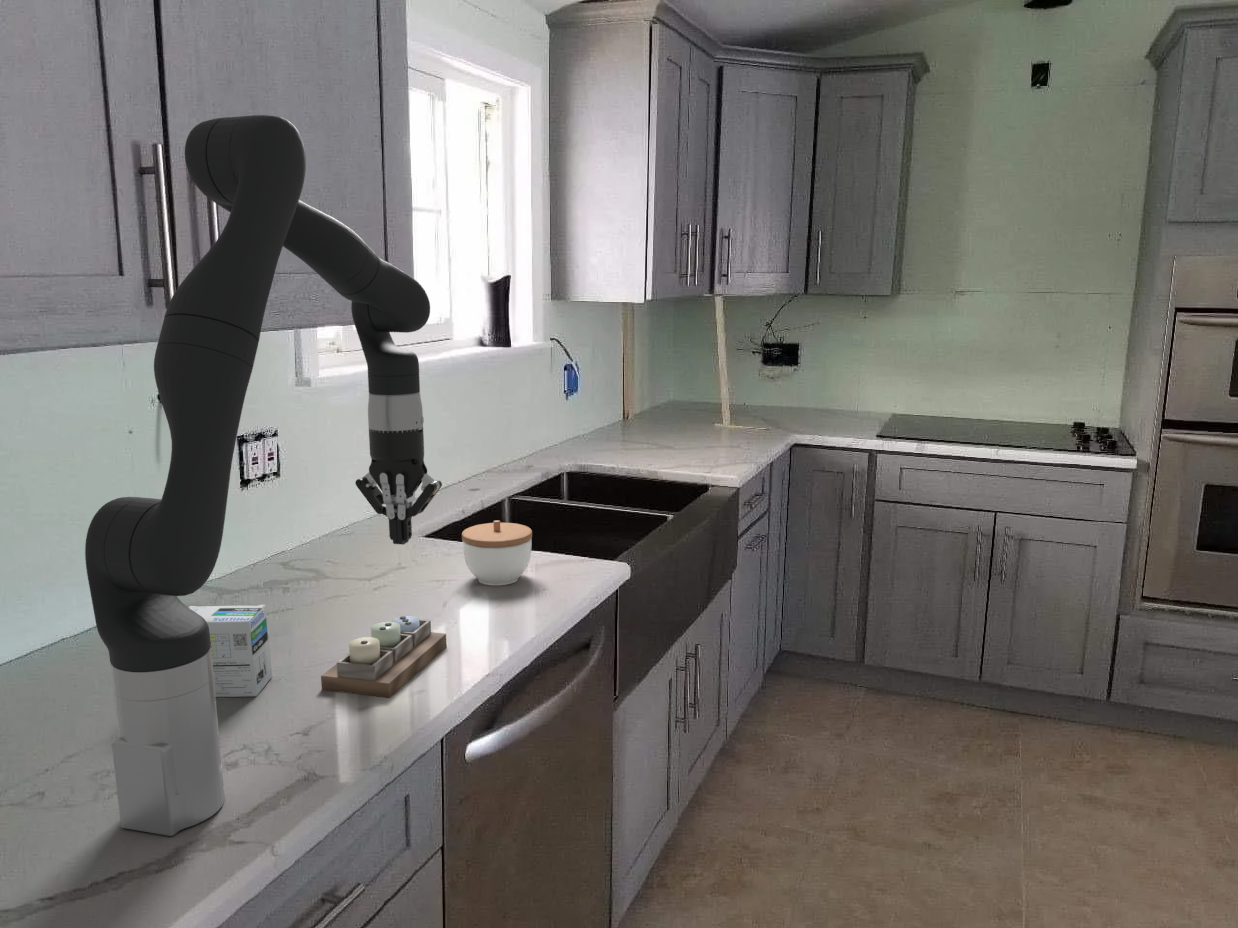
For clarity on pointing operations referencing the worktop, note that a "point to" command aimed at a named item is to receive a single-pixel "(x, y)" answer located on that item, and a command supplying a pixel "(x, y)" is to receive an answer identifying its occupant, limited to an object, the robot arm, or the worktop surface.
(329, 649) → the worktop surface
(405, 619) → the three-pip button
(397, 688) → the button panel
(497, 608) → the worktop surface
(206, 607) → the light bulb box
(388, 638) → the two-pip button
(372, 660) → the one-pip button
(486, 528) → the lidded bowl
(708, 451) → the worktop surface
